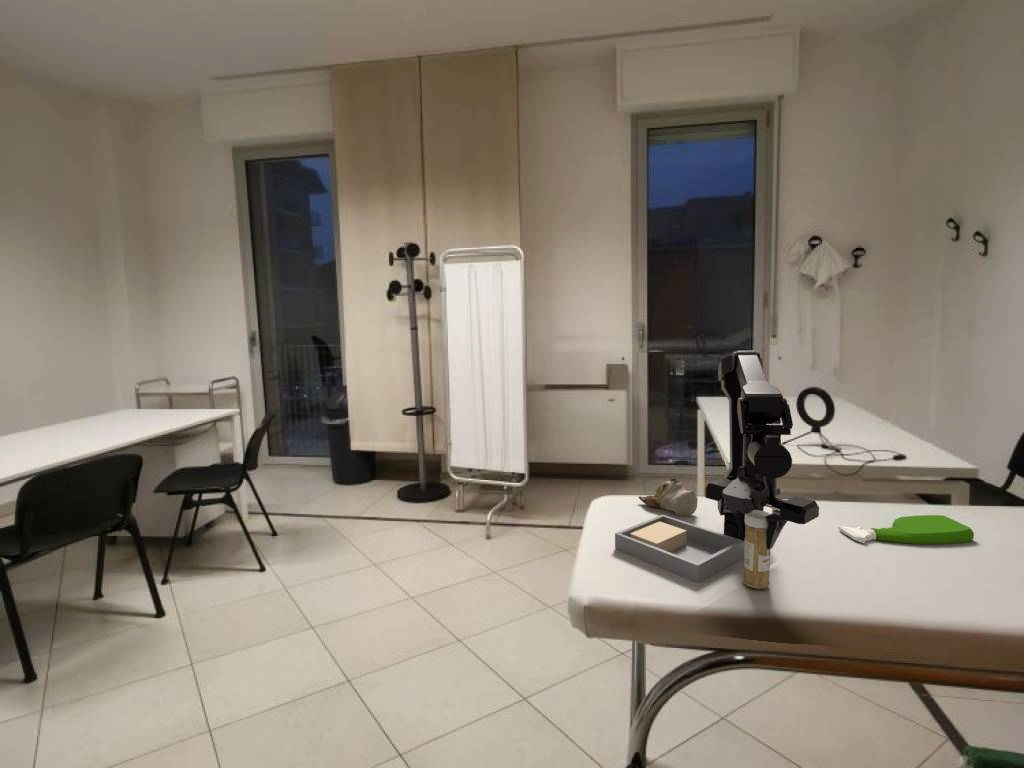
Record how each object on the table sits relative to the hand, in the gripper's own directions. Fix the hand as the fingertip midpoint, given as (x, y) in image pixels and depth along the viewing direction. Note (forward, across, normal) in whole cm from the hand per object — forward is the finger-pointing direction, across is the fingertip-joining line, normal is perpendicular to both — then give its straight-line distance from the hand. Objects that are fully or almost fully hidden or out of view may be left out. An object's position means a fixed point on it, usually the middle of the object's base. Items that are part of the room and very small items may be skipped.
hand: (757, 544), depth 105 cm
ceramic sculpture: (+8, -34, +20) cm, 40 cm away
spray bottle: (+9, +9, +44) cm, 46 cm away
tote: (+8, -17, 0) cm, 19 cm away
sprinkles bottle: (+8, 0, 0) cm, 8 cm away
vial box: (+7, -22, 0) cm, 23 cm away
